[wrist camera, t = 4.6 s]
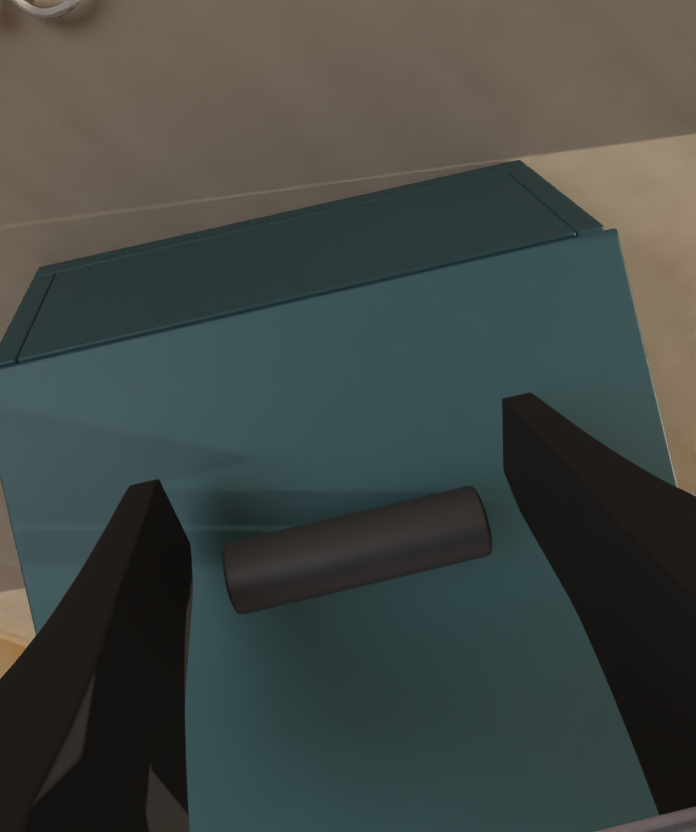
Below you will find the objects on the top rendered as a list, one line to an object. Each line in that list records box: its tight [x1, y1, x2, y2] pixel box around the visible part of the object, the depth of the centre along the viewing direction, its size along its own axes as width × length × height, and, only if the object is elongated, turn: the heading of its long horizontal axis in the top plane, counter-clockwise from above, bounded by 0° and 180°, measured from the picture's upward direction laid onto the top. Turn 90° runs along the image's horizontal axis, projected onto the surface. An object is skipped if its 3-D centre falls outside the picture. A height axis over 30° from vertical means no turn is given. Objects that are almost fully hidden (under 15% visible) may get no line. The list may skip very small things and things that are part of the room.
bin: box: [0, 160, 604, 368], centre depth 22 cm, size 14×15×6 cm
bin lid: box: [0, 229, 678, 832], centre depth 14 cm, size 15×15×4 cm
